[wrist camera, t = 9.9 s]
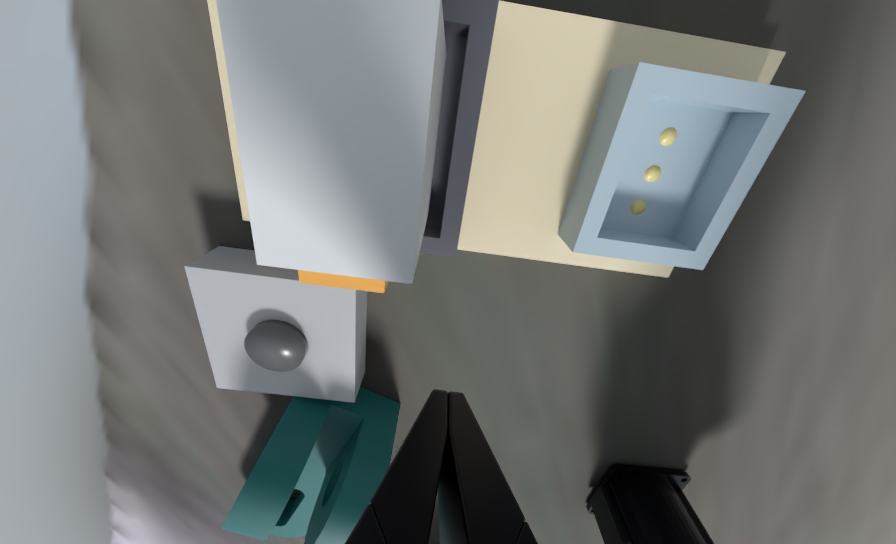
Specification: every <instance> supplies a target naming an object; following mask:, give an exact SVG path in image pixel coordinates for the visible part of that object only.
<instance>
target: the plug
mask: <svg viewBox="0 0 896 544" xmlns="http://www.w3.org/2000/svg"><path fill="white" fill-rule="evenodd" d="M216 3H217V10H218V16H219V23H220V29H221V35H222V42H223V48H224V55H225V61H226V68H227V74H228V81H229V87H230V94H231V100H232V106H233V113H234V119H235V126H236V132H237V139H238V145H239V152H240V158H241V165H242V171H243V178H244V184H245V190H246V197H247V203H248V210H249V216H250V223H251V229H252V236H253V242H254V249H255V255H256V261H257V265H263V266H271V267H279V268H287V269H295V270H298V275H299V283H305V284H313V285H321V286H330V287H338V288H346V289H354V290H362V291H370V292H379V293H385V290H386V287H387V284H388V282H389V281H391V282H399V283H407V284H412V283H413V278H414V274H415V270H416V265H417V261H418V257H419V252H420V248H421V243H422V239H423V235H424V230H425V226H426V222H427V217H428V213H429V207H430V198H431V189H432V180H433V171H434V163H435V154H436V145H437V136H438V127H439V118H440V109H441V100H442V92H443V83H444V74H445V65H446V56H447V53H446V42H445V31H444V20H443V9H442V0H216Z"/></svg>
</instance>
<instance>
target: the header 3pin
mask: <svg viewBox="0 0 896 544" xmlns="http://www.w3.org/2000/svg"><path fill="white" fill-rule="evenodd" d="M805 92H806V91H803V90H798V89H792V88H786V87H780V86H774V85H769V84H763V83H757V82H751V81H746V80H740V79H734V78H728V77H723V76H717V75H711V74H705V73H699V72H694V71H688V70H682V69H676V68H671V67H665V66H659V65H653V64H648V63H642V62H638V63H634V64H631V65H627V66H623V67H619V68H615V69H612V70H610V72H609V75H608V78H607V81H606V84H605V88H604V91H603V94H602V97H601V100H600V103H599V106H598V110H597V113H596V116H595V119H594V122H593V125H592V128H591V131H590V135H589V138H588V141H587V144H586V147H585V150H584V153H583V157H582V160H581V163H580V166H579V169H578V172H577V175H576V179H575V182H574V185H573V188H572V191H571V194H570V197H569V201H568V204H567V207H566V210H565V213H564V216H563V219H562V223H561V226H560V229H559V232H558V236H559V237H560V238H561V239H562V240H563V241H564V243H565V244H566V245H567V246H568V247H569V248H570V250H571V251H572V252H574V253H582V254H589V255H596V256H603V257H611V258H618V259H625V260H633V261H640V262H647V263H654V264H662V265H669V266H676V267H684V268H691V269H698V270H704V268H705V266H706V264H707V263H708V261H709V259H710V257H711V256H712V254H713V252H714V250H715V249H716V247H717V245H718V243H719V242H720V240H721V238H722V236H723V235H724V233H725V231H726V230H727V228H728V226H729V224H730V223H731V221H732V219H733V217H734V216H735V214H736V212H737V210H738V209H739V207H740V205H741V203H742V202H743V200H744V198H745V196H746V195H747V193H748V191H749V189H750V188H751V186H752V184H753V182H754V181H755V179H756V177H757V175H758V174H759V172H760V170H761V169H762V167H763V165H764V163H765V162H766V160H767V158H768V156H769V155H770V153H771V151H772V149H773V148H774V146H775V144H776V142H777V141H778V139H779V137H780V135H781V134H782V132H783V130H784V128H785V127H786V125H787V123H788V121H789V120H790V118H791V116H792V114H793V113H794V111H795V109H796V108H797V106H798V104H799V102H800V101H801V99H802V97H803V95H804V94H805Z"/></svg>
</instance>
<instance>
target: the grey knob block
mask: <svg viewBox="0 0 896 544" xmlns="http://www.w3.org/2000/svg"><path fill="white" fill-rule="evenodd" d="M184 267H185V270H186V274H187V278H188V281H189V285H190V289H191V293H192V296H193V300H194V304H195V307H196V311H197V315H198V319H199V322H200V326H201V330H202V334H203V337H204V341H205V345H206V348H207V352H208V356H209V360H210V363H211V367H212V371H213V374H214V378H215V382H216V386H217V388H222V389H232V390H241V391H251V392H260V393H269V394H279V395H288V396H298V397H307V398H316V399H326V400H335V401H345V402H354V403H355V400H356V397H357V394H358V391H359V388H360V385H361V382H362V379H363V376H364V373H365V356H366V321H367V291H362V290H354V289H346V288H338V287H330V286H321V285H313V284H305V283H299V275H298V270H295V269H287V268H279V267H271V266H263V265H257V261H256V255H255V251H254V250H247V249H239V248H231V247H224V246H219V247H217V248H215V249H213V250H212V251H210V252H208V253H206V254H205V255H203V256H201V257H200V258H198V259H196V260H194V261H193V262H191V263H189V264H187V265H186V266H184Z"/></svg>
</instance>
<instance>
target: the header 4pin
mask: <svg viewBox="0 0 896 544" xmlns="http://www.w3.org/2000/svg"><path fill="white" fill-rule="evenodd" d="M498 3H499V0H442V9H443V20H444V31H445V42H446V53H447V56H446V65H445V74H444V83H443V92H442V100H441V109H440V118H439V127H438V136H437V145H436V154H435V163H434V171H433V180H432V189H431V198H430V207H429V213H428V217H427V222H426V226H425V230H424V235H423V239H422V243H421V248H420V252H419V253H423V254H431V255H438V256H446V257H453V258H456V254H457V248H458V242H459V236H460V230H461V224H462V218H463V212H464V206H465V200H466V194H467V188H468V182H469V176H470V170H471V164H472V158H473V152H474V146H475V140H476V134H477V128H478V122H479V116H480V111H481V105H482V99H483V93H484V87H485V81H486V75H487V69H488V63H489V57H490V51H491V45H492V39H493V33H494V27H495V21H496V15H497V9H498Z"/></svg>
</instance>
